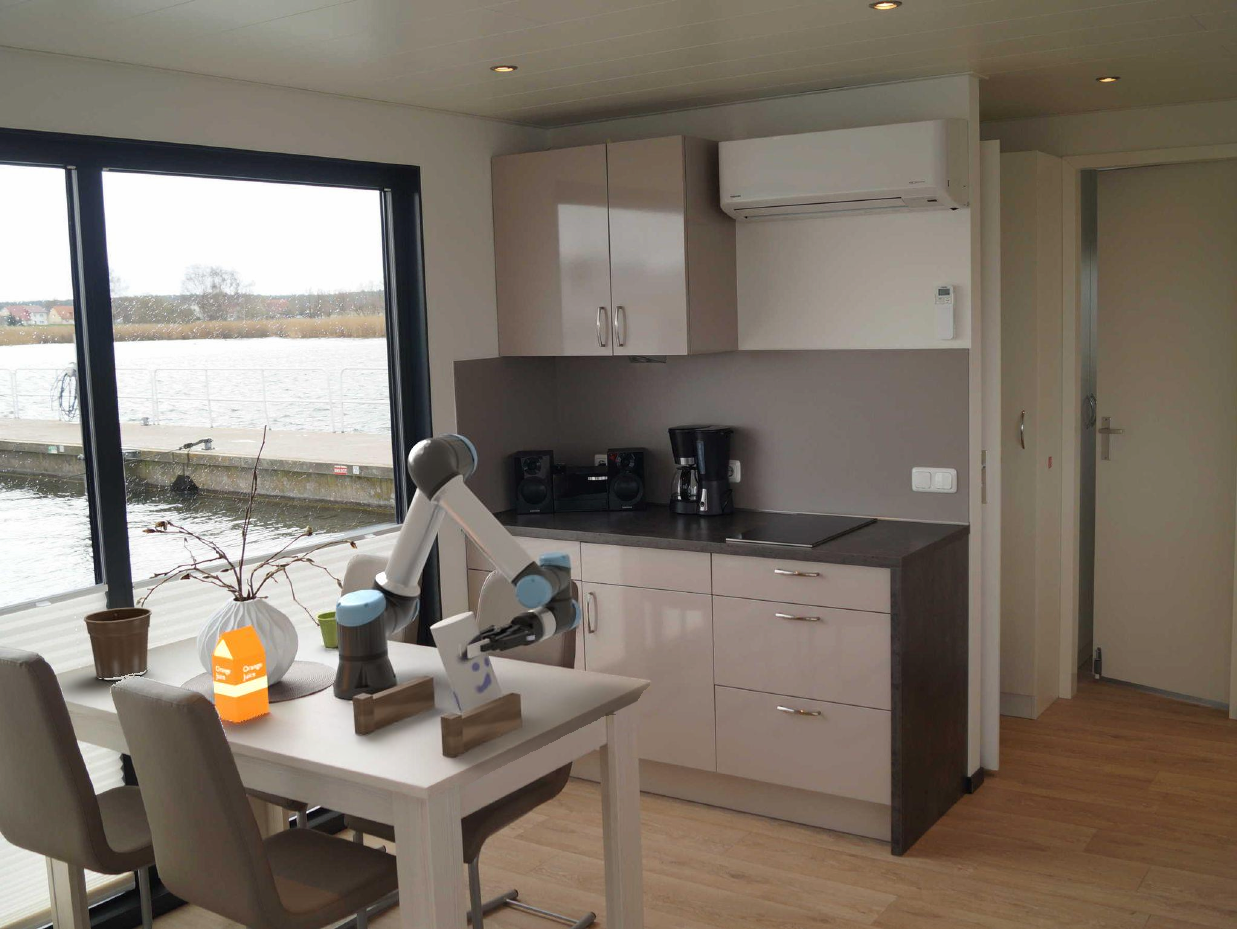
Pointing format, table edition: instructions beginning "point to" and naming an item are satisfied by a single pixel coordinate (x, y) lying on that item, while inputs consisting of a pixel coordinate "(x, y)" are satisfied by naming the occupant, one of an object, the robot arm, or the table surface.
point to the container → (465, 662)
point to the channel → (455, 728)
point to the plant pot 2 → (328, 628)
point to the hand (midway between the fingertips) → (464, 651)
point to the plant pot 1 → (119, 640)
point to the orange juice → (240, 675)
